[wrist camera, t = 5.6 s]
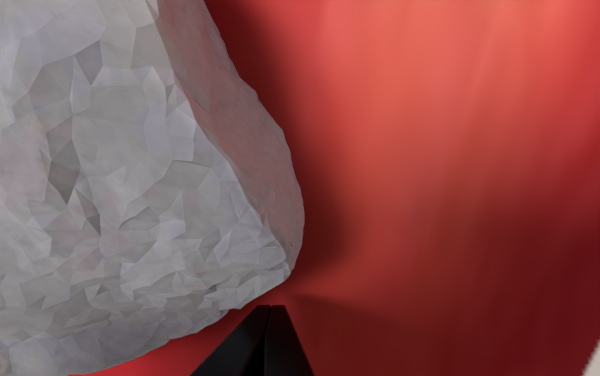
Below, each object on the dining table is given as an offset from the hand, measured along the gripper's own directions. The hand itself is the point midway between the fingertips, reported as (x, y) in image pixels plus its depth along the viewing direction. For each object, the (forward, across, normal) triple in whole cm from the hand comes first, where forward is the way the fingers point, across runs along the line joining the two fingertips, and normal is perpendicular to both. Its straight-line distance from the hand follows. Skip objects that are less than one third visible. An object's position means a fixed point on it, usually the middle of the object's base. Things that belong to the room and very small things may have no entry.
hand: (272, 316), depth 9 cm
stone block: (+2, +5, -4) cm, 7 cm away
